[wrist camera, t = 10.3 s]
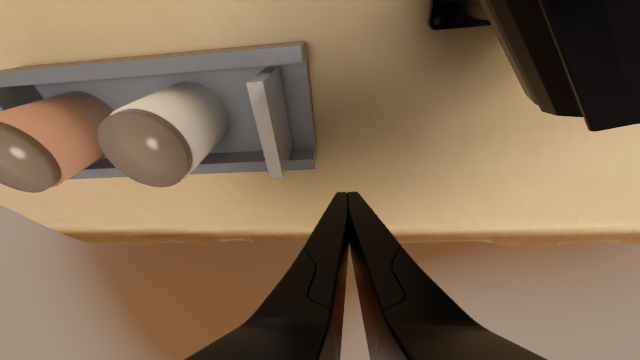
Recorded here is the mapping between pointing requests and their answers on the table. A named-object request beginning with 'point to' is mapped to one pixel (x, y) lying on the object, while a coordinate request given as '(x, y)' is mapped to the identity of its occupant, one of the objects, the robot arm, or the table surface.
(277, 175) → the plate
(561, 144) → the table surface
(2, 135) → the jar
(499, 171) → the table surface
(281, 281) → the robot arm
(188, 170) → the cream jar
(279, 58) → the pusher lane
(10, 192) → the table surface
